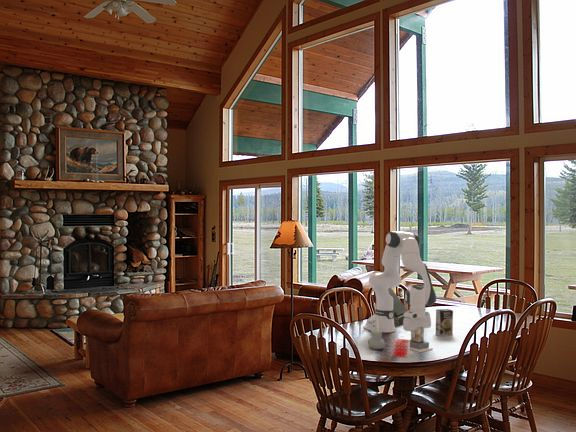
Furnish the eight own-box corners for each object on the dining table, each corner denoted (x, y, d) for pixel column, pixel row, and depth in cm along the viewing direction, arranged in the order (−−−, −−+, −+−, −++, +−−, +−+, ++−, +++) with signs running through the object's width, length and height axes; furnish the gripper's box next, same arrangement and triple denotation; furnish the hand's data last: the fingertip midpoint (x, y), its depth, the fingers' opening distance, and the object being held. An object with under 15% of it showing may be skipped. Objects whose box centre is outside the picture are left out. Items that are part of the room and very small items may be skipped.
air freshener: (367, 346, 321) (367, 329, 320) (381, 346, 321) (381, 329, 321) (371, 351, 310) (371, 333, 310) (385, 350, 310) (386, 333, 310)
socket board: (401, 346, 320) (401, 340, 320) (414, 344, 326) (414, 337, 326) (419, 352, 308) (419, 345, 308) (432, 349, 314) (432, 342, 314)
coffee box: (440, 336, 349) (440, 310, 349) (435, 333, 355) (435, 309, 355) (453, 335, 351) (453, 310, 351) (447, 333, 357) (447, 308, 357)
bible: (398, 326, 377) (399, 290, 377) (373, 323, 388) (373, 288, 388) (411, 321, 396) (411, 287, 396) (385, 318, 407) (386, 284, 407)
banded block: (418, 345, 313) (419, 328, 313) (410, 343, 318) (411, 326, 318) (423, 344, 316) (423, 327, 315) (415, 342, 321) (415, 325, 320)
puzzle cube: (407, 357, 297) (407, 343, 297) (393, 355, 300) (393, 341, 300) (409, 353, 305) (410, 339, 305) (395, 352, 308) (395, 338, 307)
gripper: (425, 310, 325) (425, 333, 325) (401, 314, 314) (401, 337, 314) (433, 312, 320) (433, 335, 320) (409, 315, 308) (409, 340, 309)
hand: (417, 336), depth 317 cm, fingers closed on banded block, 4 cm apart
